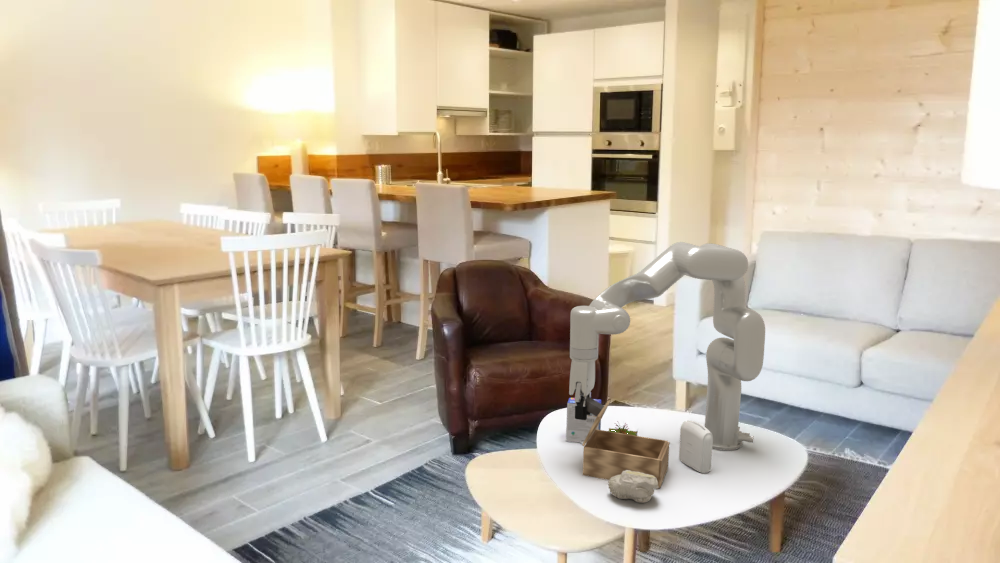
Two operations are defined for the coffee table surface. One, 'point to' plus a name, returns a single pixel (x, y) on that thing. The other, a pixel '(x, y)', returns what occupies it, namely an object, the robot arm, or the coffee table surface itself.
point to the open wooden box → (624, 455)
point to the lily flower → (623, 430)
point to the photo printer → (696, 446)
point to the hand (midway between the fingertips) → (582, 416)
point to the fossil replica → (633, 486)
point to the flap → (596, 410)
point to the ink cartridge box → (578, 423)
